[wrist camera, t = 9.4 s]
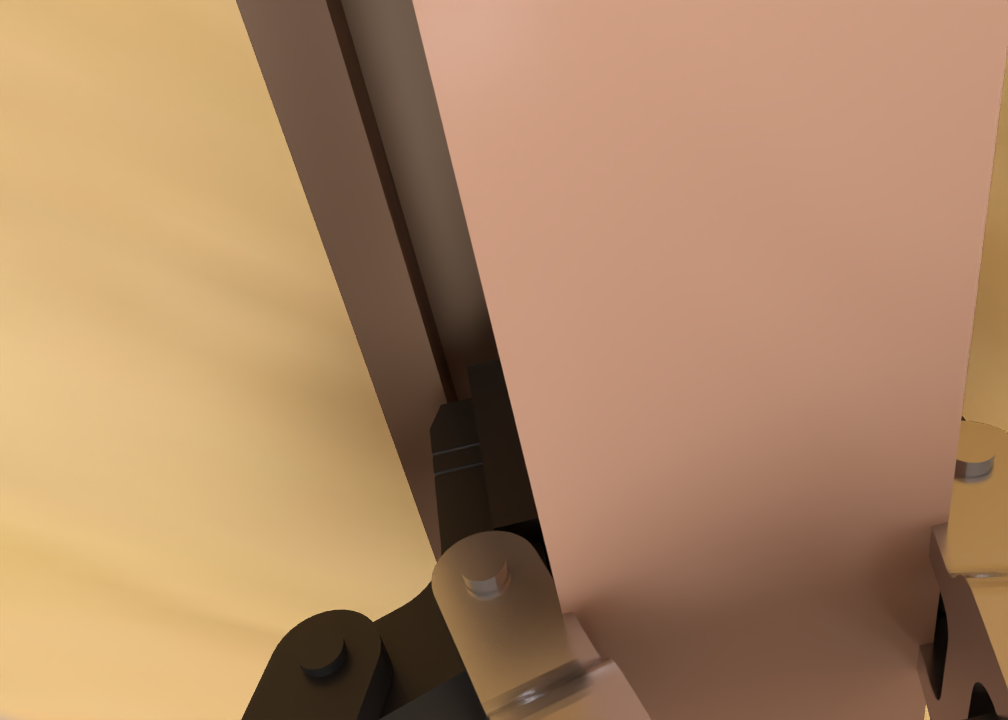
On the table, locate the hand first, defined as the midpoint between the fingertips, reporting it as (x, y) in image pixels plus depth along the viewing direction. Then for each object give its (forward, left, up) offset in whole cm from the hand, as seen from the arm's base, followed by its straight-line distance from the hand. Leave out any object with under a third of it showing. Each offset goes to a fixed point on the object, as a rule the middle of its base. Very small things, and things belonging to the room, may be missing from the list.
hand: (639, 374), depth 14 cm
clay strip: (0, 0, -1) cm, 1 cm away
